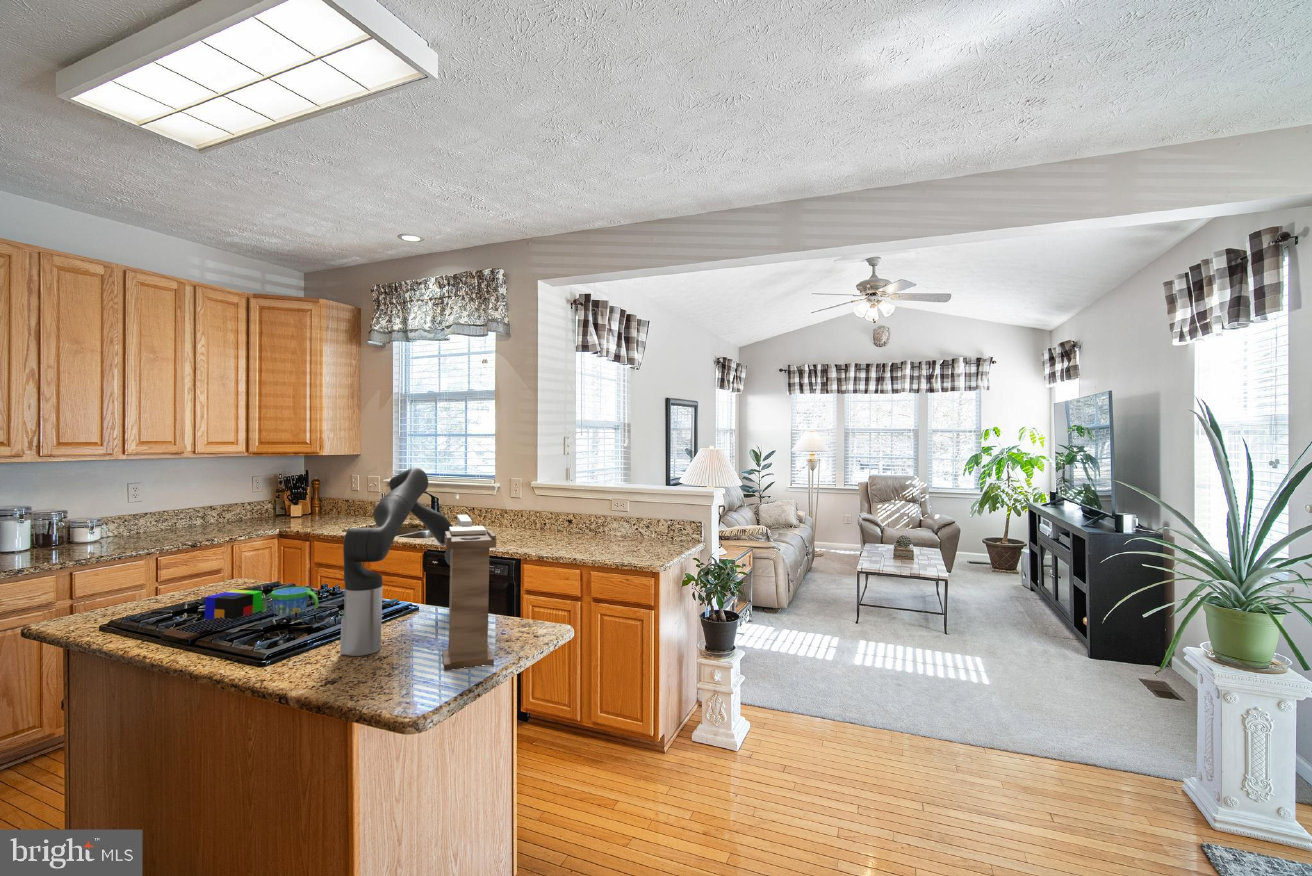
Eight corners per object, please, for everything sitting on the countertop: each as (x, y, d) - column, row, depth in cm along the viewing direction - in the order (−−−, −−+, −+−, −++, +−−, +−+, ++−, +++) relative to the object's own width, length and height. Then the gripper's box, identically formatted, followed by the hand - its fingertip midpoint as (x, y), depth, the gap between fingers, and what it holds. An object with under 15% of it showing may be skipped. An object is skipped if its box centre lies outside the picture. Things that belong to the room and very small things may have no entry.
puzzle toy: (204, 630, 177) (205, 597, 177) (233, 621, 187) (234, 589, 187) (233, 632, 175) (234, 598, 176) (261, 623, 185) (262, 591, 186)
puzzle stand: (442, 655, 159) (444, 531, 160) (488, 650, 163) (490, 529, 164) (443, 670, 148) (446, 537, 148) (493, 664, 152) (496, 535, 153)
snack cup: (323, 618, 192) (324, 586, 192) (307, 627, 181) (308, 594, 181) (273, 618, 190) (274, 586, 191) (253, 628, 180) (254, 594, 180)
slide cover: (446, 523, 182) (446, 515, 182) (477, 522, 186) (477, 514, 186) (451, 534, 158) (451, 525, 158) (486, 533, 162) (486, 524, 162)
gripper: (441, 533, 198) (442, 524, 184) (485, 537, 203) (489, 528, 188) (438, 555, 196) (438, 548, 181) (482, 559, 200) (486, 552, 186)
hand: (464, 538), depth 185 cm, fingers open, 8 cm apart
